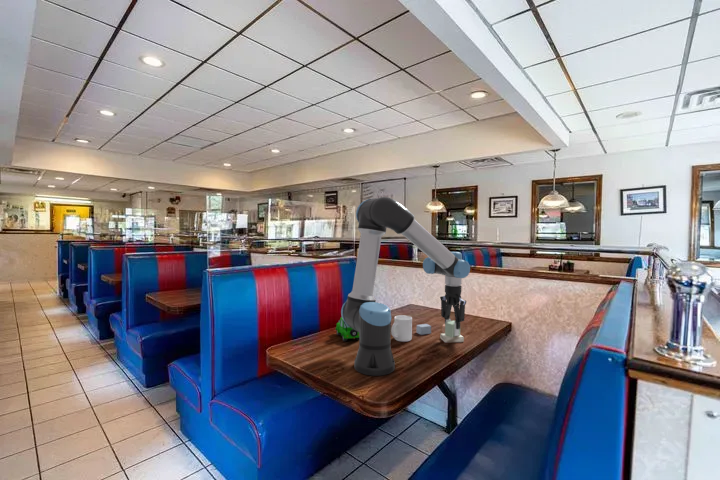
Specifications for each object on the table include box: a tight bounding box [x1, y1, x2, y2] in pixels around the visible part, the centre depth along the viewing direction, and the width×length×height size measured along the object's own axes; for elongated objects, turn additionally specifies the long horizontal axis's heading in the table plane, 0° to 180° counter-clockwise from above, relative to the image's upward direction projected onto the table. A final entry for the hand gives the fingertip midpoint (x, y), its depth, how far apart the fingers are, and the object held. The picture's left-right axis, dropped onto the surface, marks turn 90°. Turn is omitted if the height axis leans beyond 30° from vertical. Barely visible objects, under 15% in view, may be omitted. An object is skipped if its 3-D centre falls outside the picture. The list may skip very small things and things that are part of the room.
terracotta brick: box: [441, 323, 445, 334], centre depth 174 cm, size 6×4×4 cm, turn 152°
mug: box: [391, 314, 413, 343], centre depth 161 cm, size 12×8×10 cm
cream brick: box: [439, 333, 465, 343], centre depth 162 cm, size 9×6×3 cm, turn 97°
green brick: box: [444, 320, 461, 337], centre depth 162 cm, size 6×4×6 cm, turn 126°
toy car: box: [335, 316, 359, 342], centre depth 163 cm, size 8×17×10 cm, turn 20°
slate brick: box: [415, 323, 432, 336], centre depth 172 cm, size 6×4×4 cm, turn 116°
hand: (452, 334), depth 162 cm, fingers closed on green brick, 4 cm apart
